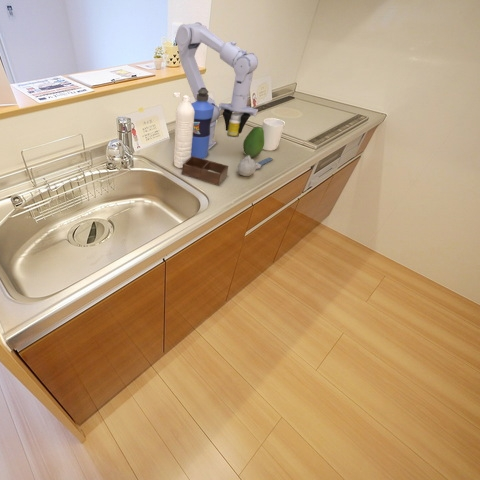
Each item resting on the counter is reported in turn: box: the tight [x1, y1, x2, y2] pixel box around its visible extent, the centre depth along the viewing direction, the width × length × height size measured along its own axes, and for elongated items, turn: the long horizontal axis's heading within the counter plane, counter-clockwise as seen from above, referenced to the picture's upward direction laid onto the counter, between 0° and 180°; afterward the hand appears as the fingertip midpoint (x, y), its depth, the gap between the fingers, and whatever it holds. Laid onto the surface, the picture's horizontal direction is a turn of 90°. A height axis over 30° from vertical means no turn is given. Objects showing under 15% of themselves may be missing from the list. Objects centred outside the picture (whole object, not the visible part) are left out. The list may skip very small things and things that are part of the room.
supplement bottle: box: [226, 112, 243, 139], centre depth 107 cm, size 5×5×8 cm
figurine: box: [237, 155, 257, 177], centre depth 99 cm, size 7×7×8 cm
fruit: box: [242, 126, 264, 159], centre depth 109 cm, size 8×8×12 cm
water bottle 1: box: [172, 91, 195, 169], centre depth 100 cm, size 9×6×25 cm
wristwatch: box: [236, 157, 274, 176], centre depth 106 cm, size 4×20×1 cm, turn 128°
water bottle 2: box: [190, 87, 214, 159], centre depth 106 cm, size 9×9×25 cm
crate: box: [181, 156, 229, 186], centre depth 101 cm, size 15×8×4 cm, turn 58°
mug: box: [261, 117, 286, 152], centre depth 117 cm, size 9×12×11 cm
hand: (233, 131), depth 109 cm, fingers closed on supplement bottle, 5 cm apart
